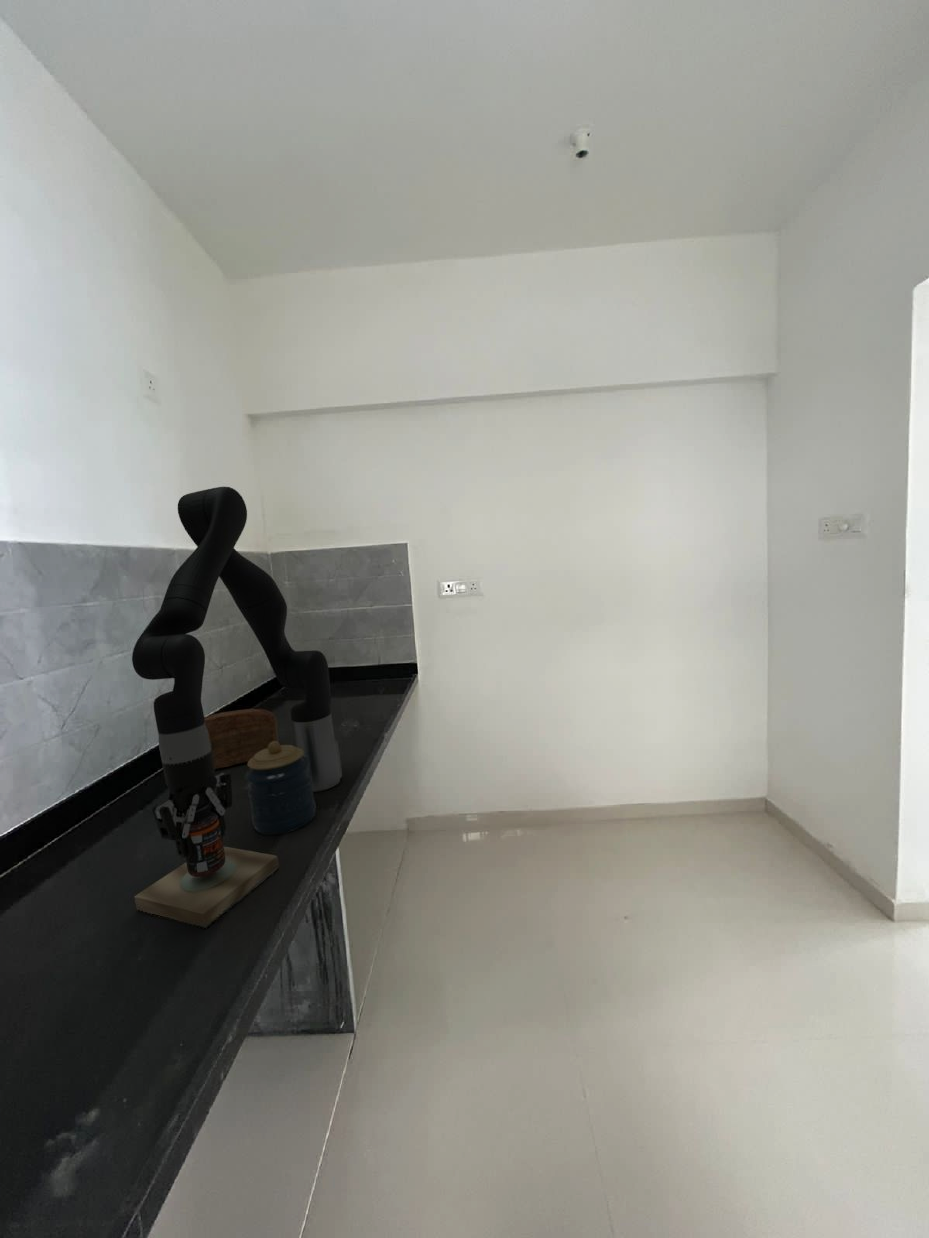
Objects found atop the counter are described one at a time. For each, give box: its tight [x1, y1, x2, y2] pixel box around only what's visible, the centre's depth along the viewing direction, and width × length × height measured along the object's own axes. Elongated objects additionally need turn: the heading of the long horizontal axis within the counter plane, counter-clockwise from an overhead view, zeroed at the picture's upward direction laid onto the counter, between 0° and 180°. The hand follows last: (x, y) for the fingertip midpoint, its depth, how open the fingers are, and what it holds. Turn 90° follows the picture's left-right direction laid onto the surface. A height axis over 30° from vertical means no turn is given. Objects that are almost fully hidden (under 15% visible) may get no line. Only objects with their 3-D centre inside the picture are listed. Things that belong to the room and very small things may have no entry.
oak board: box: [134, 845, 280, 927], centre depth 94 cm, size 16×16×3 cm
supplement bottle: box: [181, 803, 225, 877], centre depth 93 cm, size 6×6×11 cm
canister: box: [244, 741, 317, 836], centre depth 115 cm, size 13×13×18 cm
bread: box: [204, 708, 279, 770], centre depth 154 cm, size 12×28×14 cm, turn 111°
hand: (203, 845), depth 93 cm, fingers open, 6 cm apart
